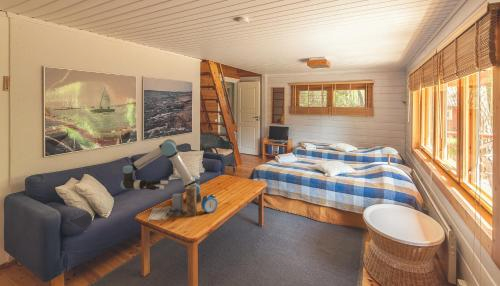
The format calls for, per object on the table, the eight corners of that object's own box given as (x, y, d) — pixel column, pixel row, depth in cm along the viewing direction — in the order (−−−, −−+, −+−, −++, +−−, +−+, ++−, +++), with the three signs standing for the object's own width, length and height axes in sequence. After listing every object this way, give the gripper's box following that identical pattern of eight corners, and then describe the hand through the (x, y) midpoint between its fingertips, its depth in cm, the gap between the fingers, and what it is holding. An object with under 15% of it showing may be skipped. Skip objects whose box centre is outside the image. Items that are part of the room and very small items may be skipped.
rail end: (172, 210, 225) (172, 195, 222) (174, 208, 229) (173, 193, 227) (182, 210, 225) (181, 195, 223) (183, 208, 229) (183, 193, 227)
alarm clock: (203, 214, 218) (203, 197, 215) (200, 212, 223) (200, 195, 220) (217, 211, 225) (217, 194, 223) (214, 208, 230) (214, 192, 228)
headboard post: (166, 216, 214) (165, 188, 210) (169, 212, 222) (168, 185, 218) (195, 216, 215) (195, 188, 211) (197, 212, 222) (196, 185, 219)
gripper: (145, 184, 234) (169, 184, 234) (134, 193, 209) (161, 194, 210) (145, 176, 232) (169, 176, 233) (134, 184, 208) (161, 185, 209)
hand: (166, 184), depth 222 cm, fingers open, 13 cm apart
